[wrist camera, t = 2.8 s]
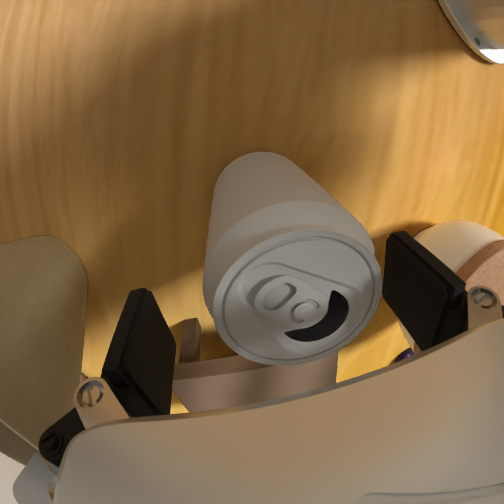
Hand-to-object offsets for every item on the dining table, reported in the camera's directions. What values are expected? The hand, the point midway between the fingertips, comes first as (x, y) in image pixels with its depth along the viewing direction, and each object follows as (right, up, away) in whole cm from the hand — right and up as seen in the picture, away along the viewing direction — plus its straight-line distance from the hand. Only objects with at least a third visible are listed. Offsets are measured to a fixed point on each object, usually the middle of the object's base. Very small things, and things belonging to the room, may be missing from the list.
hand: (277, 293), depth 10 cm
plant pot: (-19, 0, +10) cm, 21 cm away
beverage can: (0, +6, +9) cm, 10 cm away
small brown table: (-1, -8, +16) cm, 18 cm away
